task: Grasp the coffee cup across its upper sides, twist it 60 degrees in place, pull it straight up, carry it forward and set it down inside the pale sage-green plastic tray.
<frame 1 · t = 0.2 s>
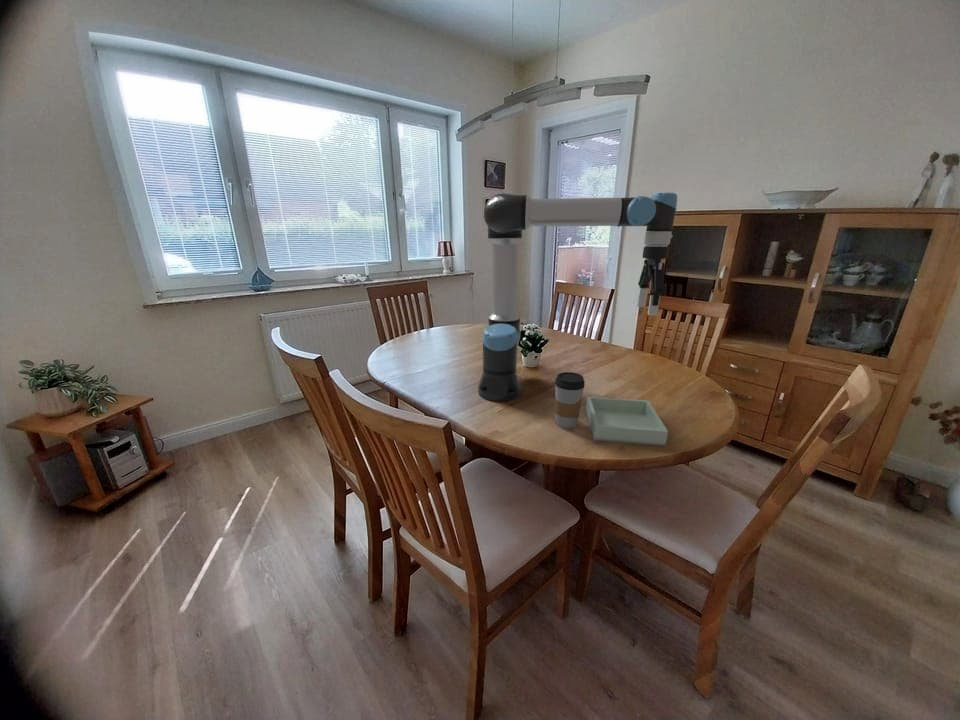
hand: (646, 310, 123), 28 cm above the table, fingers open, 13 cm apart
coffee cup: (566, 424, 107), on the table
tray: (621, 425, 105), on the table
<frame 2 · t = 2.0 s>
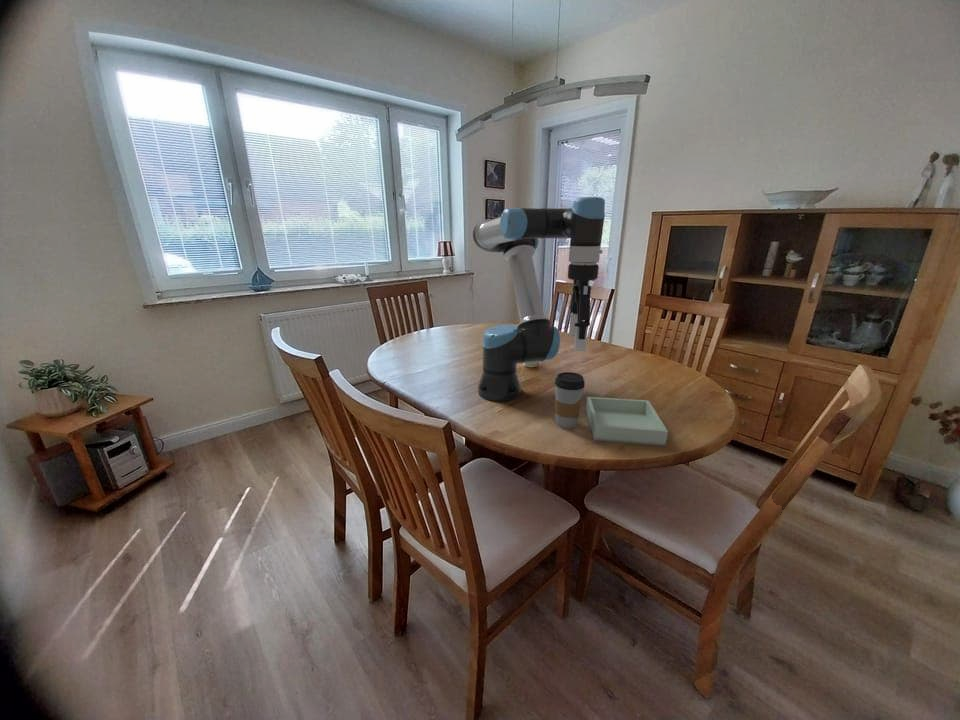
hand: (576, 342, 99), 25 cm above the table, fingers open, 13 cm apart
nothing on the table moved.
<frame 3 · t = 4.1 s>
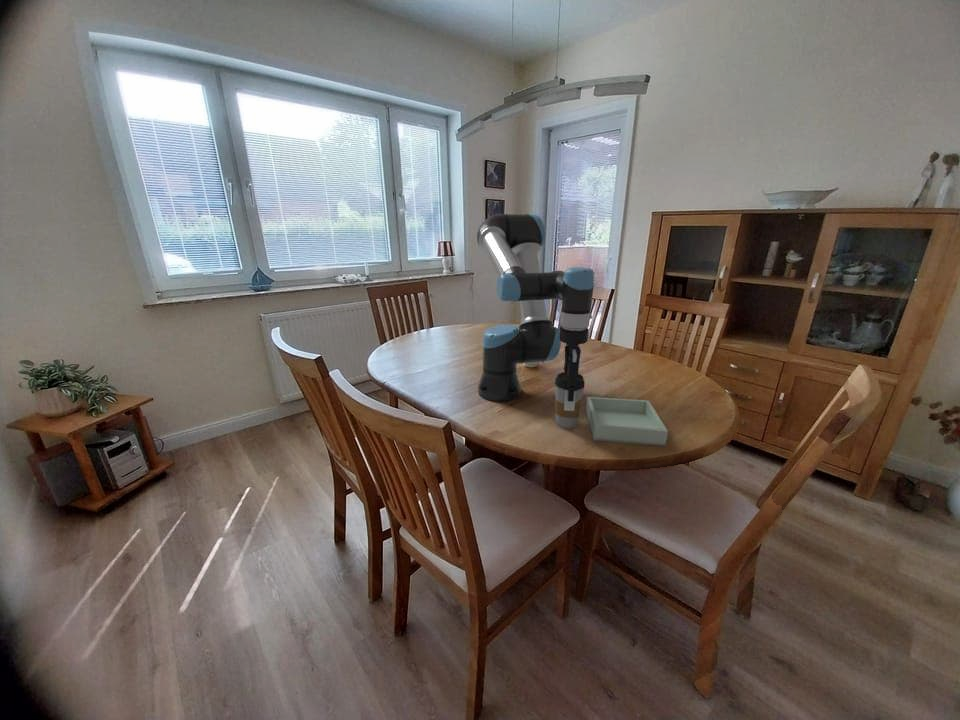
hand: (567, 402, 105), 7 cm above the table, fingers closed on coffee cup, 8 cm apart
coffee cup: (566, 424, 107), on the table, touching gripper
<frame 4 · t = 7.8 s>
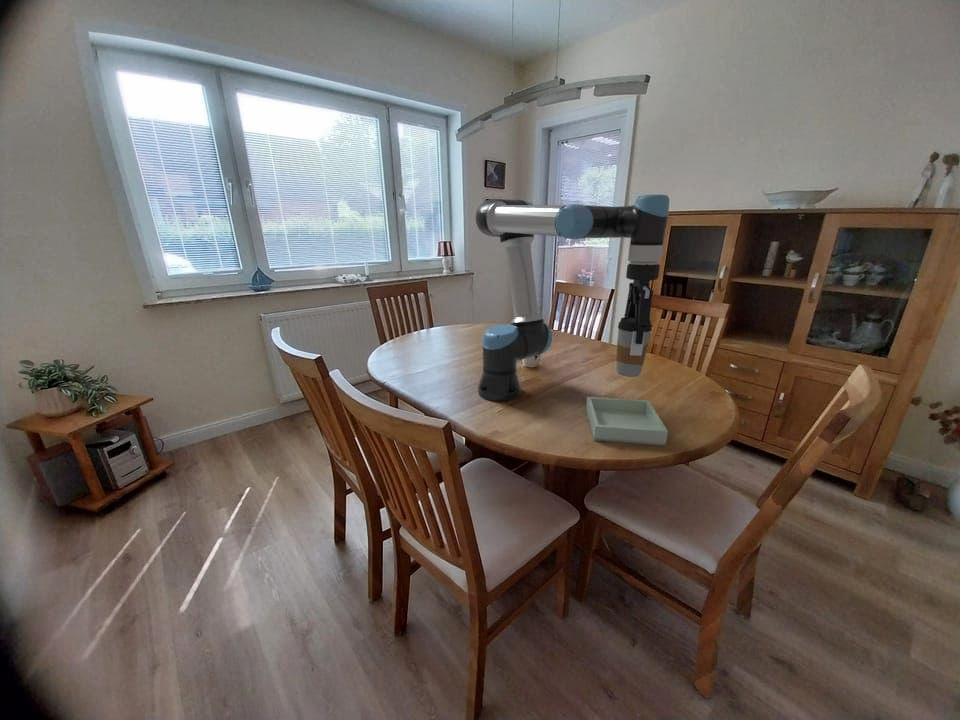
hand: (631, 349, 97), 24 cm above the table, fingers closed on coffee cup, 8 cm apart
coffee cup: (628, 373, 100), point 17 cm above the table, touching gripper
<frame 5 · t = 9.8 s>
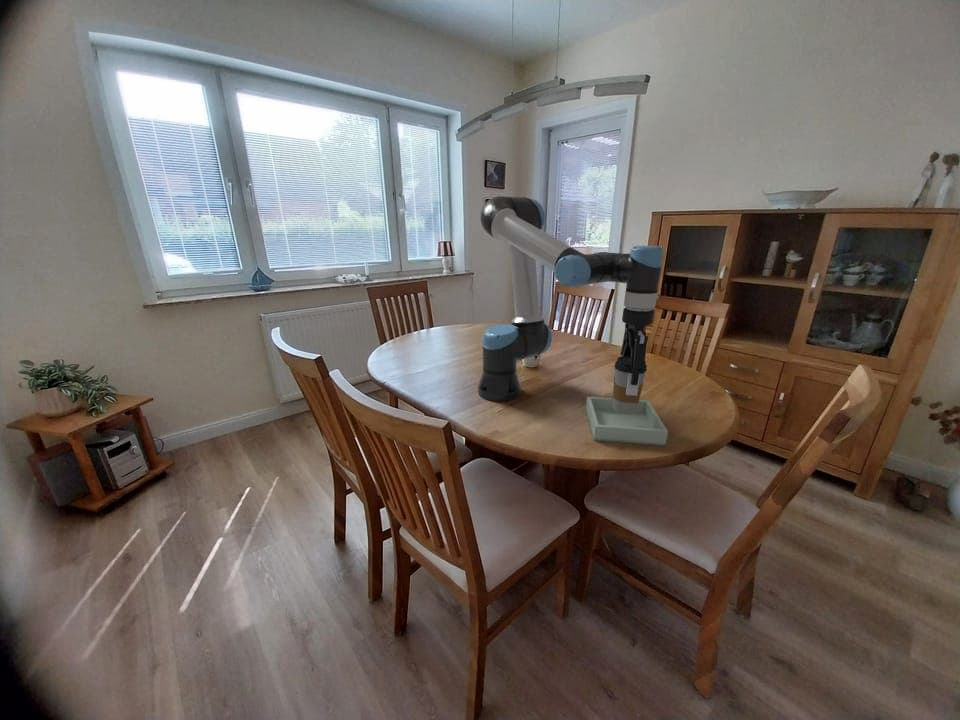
hand: (627, 387, 101), 12 cm above the table, fingers closed on coffee cup, 8 cm apart
coffee cup: (624, 410, 104), point 5 cm above the table, touching gripper
when the fingers open (9 cm above the table, at t = 11.0 s): coffee cup drops 2 cm, resting on tray.
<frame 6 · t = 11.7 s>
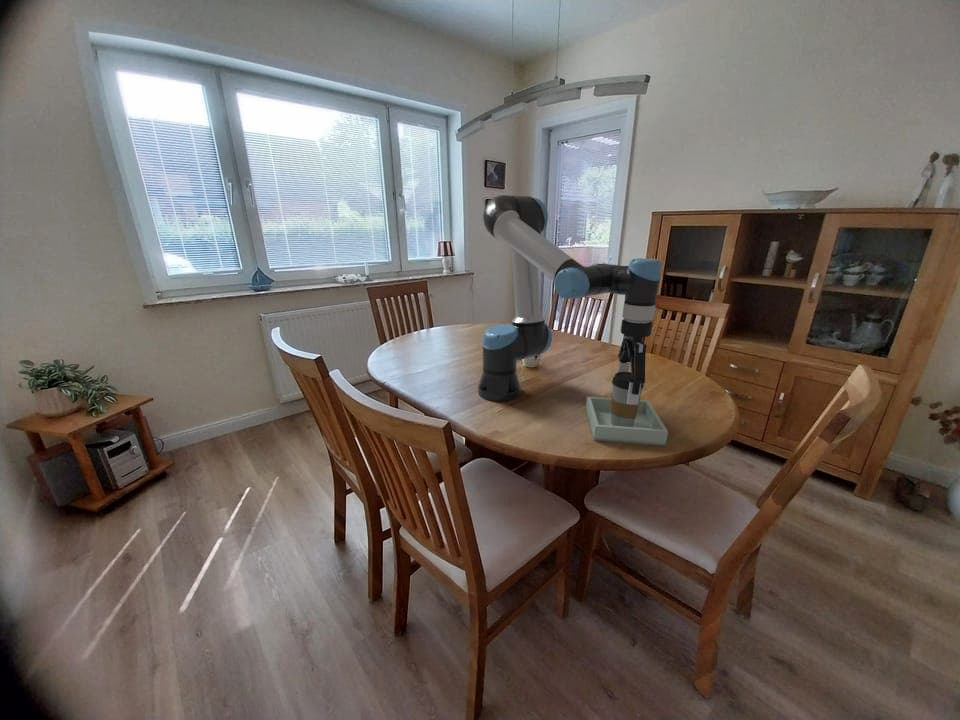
hand: (626, 393, 102), 11 cm above the table, fingers open, 13 cm apart
coffee cup: (621, 424, 105), resting on tray
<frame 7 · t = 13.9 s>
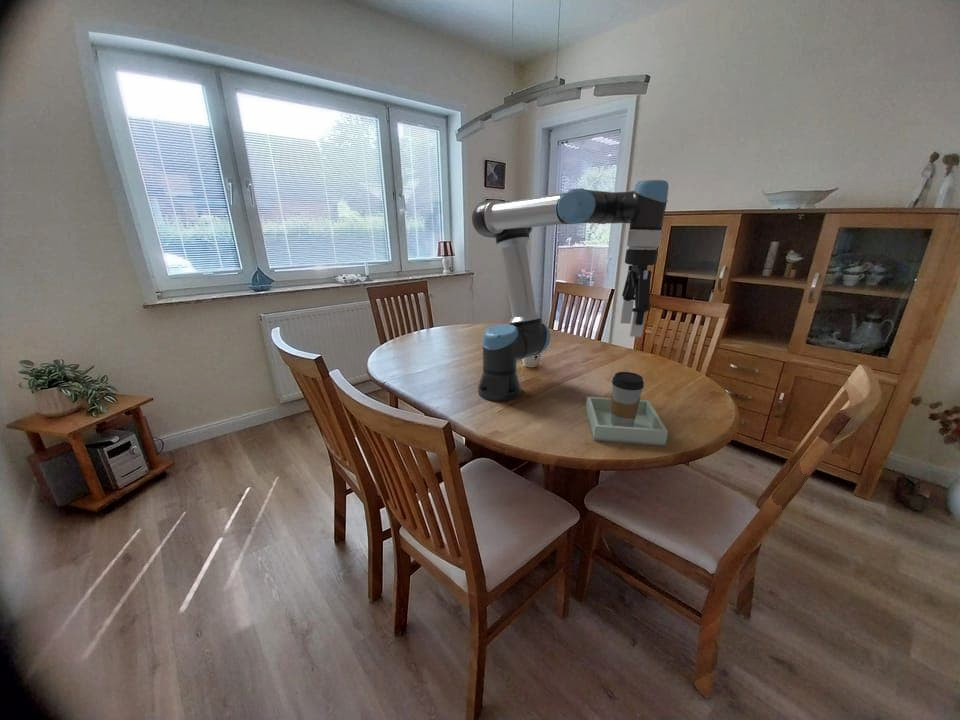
hand: (630, 329, 99), 28 cm above the table, fingers open, 13 cm apart
nothing on the table moved.
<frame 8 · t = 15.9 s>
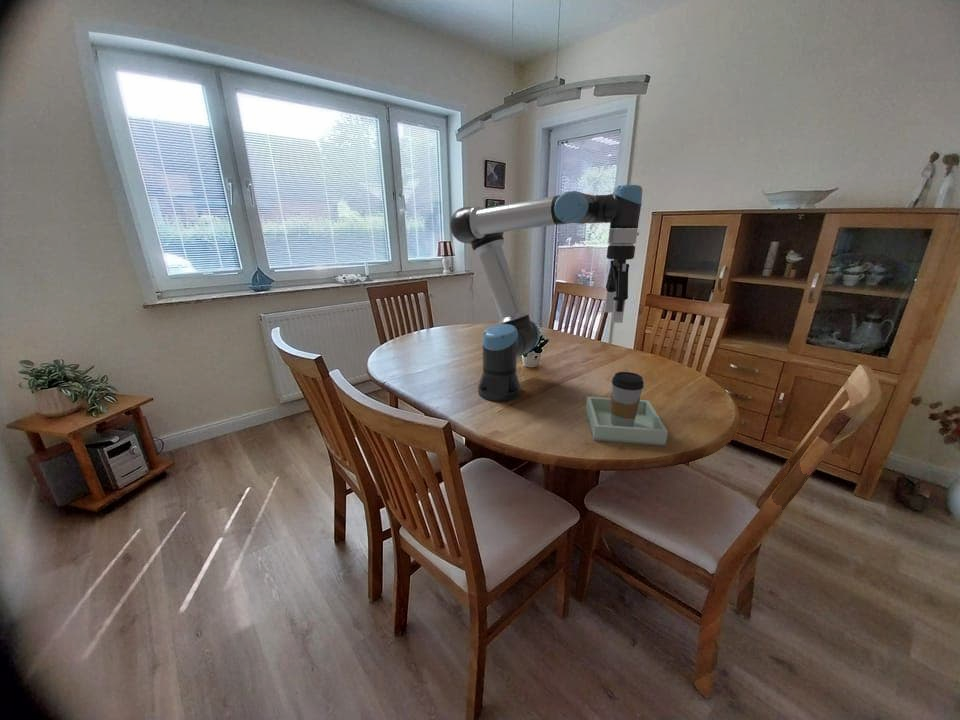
hand: (612, 317, 111), 29 cm above the table, fingers open, 13 cm apart
nothing on the table moved.
at the end: coffee cup inside the target area on the tray (0.1 cm from its centre), point 0.4 cm above the tray's base; coffee cup tilted 0°; the gripper is holding nothing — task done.
